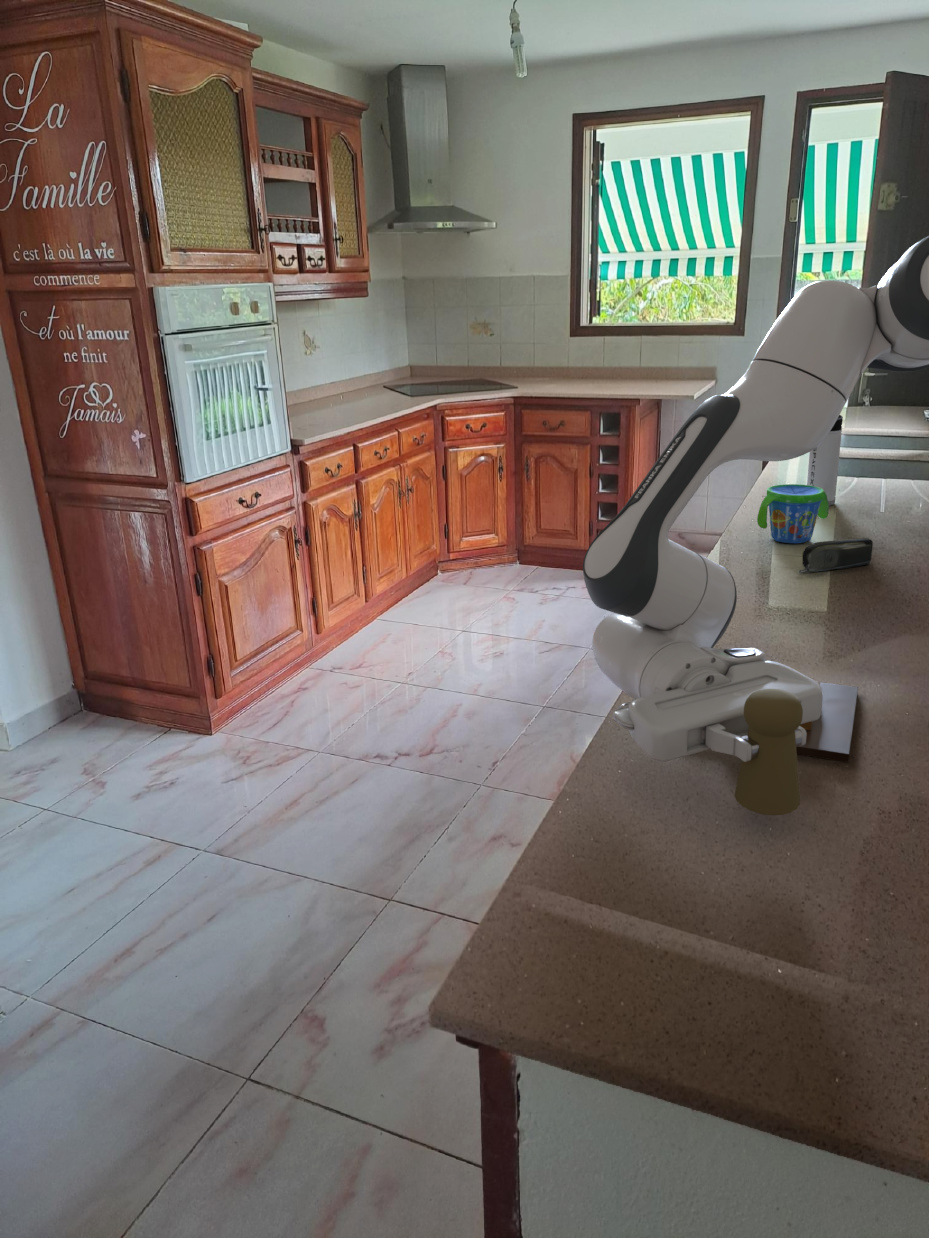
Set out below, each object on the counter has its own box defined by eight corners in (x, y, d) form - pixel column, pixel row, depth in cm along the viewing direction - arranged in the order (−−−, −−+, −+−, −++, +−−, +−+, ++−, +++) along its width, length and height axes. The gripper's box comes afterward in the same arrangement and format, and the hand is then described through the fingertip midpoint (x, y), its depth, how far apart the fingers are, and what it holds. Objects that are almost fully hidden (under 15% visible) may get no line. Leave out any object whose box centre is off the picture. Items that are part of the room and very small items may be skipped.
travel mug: (831, 499, 202) (839, 411, 195) (837, 506, 196) (846, 415, 189) (802, 499, 204) (809, 412, 197) (808, 506, 198) (815, 416, 191)
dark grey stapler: (865, 534, 158) (794, 543, 154) (877, 539, 156) (805, 548, 152) (862, 561, 160) (792, 571, 156) (874, 565, 157) (803, 575, 153)
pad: (711, 675, 118) (712, 654, 117) (857, 693, 111) (860, 672, 110) (682, 735, 103) (682, 712, 102) (848, 762, 96) (851, 738, 94)
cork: (793, 821, 81) (802, 714, 77) (727, 806, 84) (732, 702, 80) (805, 788, 86) (814, 686, 82) (742, 775, 89) (748, 676, 85)
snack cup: (809, 528, 181) (813, 480, 177) (842, 541, 171) (847, 490, 168) (741, 538, 178) (744, 488, 174) (771, 551, 168) (775, 499, 164)
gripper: (604, 683, 90) (683, 742, 77) (768, 644, 96) (865, 693, 84) (604, 737, 92) (681, 803, 80) (765, 696, 98) (859, 751, 86)
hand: (777, 746), depth 82 cm, fingers closed on cork, 4 cm apart
